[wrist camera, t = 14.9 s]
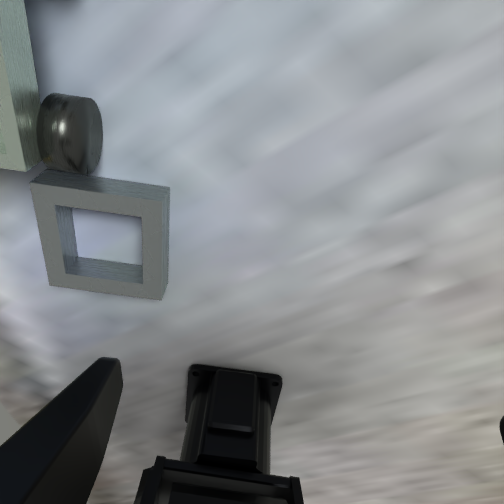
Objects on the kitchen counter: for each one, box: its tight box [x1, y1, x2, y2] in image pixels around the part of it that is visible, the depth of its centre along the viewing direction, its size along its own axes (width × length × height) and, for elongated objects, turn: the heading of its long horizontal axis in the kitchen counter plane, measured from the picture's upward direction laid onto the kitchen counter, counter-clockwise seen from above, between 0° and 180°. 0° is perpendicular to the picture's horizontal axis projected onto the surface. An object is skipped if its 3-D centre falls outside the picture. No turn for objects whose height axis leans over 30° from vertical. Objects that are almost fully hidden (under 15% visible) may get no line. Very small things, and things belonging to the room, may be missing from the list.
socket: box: [30, 170, 170, 300], centre depth 21 cm, size 6×6×2 cm
